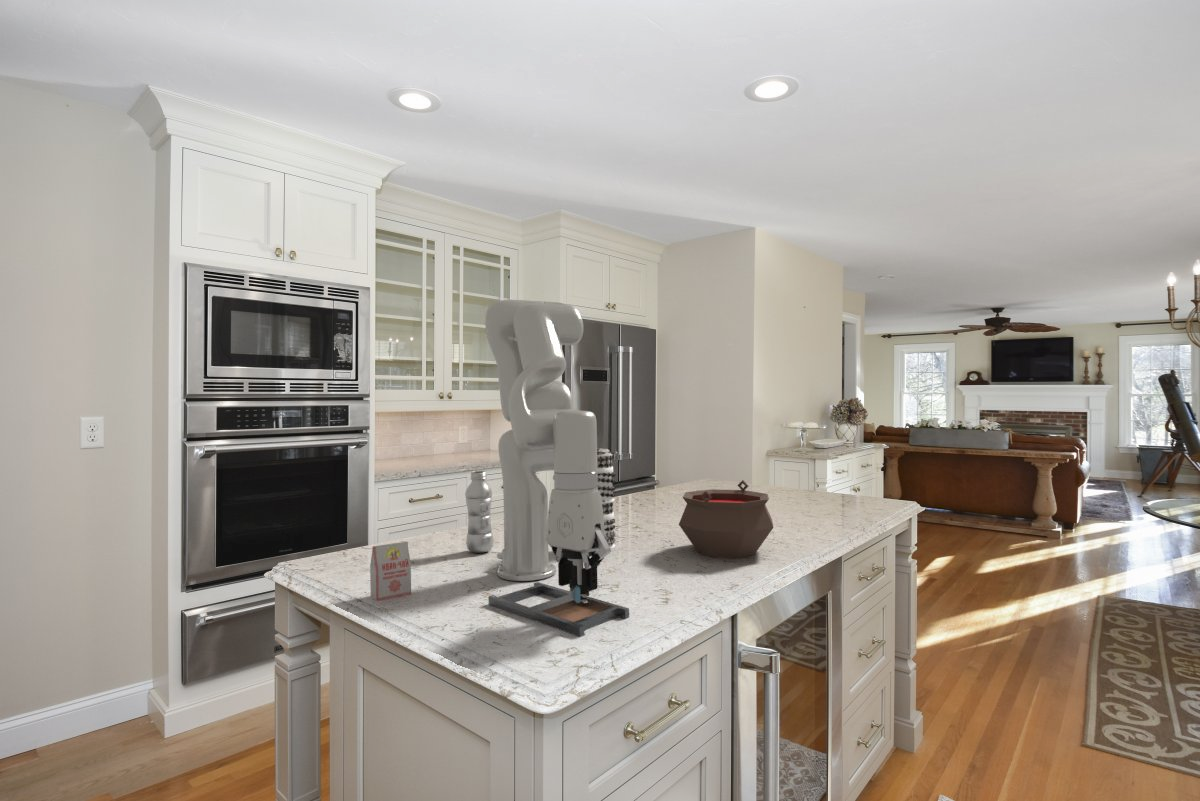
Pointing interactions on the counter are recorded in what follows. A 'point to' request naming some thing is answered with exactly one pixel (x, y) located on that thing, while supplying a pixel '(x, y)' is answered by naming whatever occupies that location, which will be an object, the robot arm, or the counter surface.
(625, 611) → the rail
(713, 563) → the counter surface
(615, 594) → the counter surface
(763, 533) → the brown cauldron
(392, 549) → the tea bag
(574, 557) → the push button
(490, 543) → the plastic bottle
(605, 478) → the decorative candle
